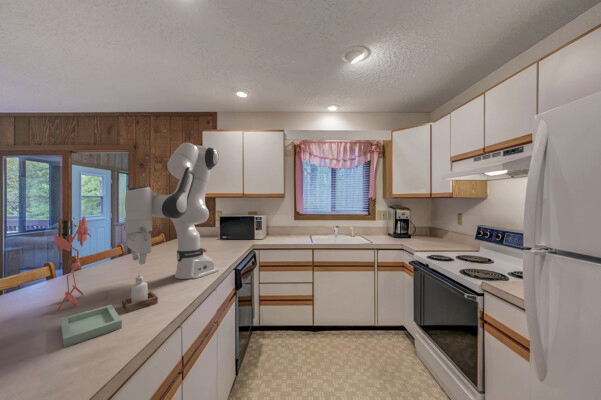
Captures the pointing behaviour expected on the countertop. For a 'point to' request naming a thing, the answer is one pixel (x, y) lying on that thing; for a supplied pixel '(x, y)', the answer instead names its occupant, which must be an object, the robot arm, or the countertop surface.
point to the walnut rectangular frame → (137, 305)
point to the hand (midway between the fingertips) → (138, 262)
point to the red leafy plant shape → (81, 237)
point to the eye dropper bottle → (139, 290)
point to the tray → (89, 325)
